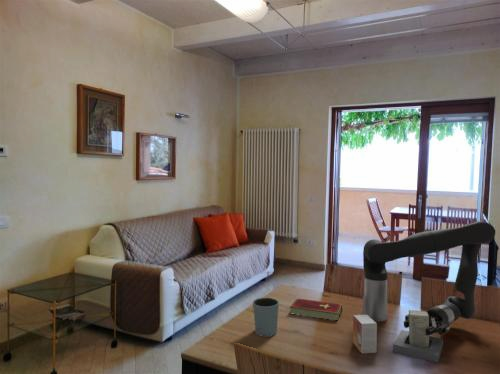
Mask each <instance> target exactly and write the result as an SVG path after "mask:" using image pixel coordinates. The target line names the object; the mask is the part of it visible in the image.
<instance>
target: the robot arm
mask: <svg viewBox="0 0 500 374" xmlns="http://www.w3.org/2000/svg"><path fill="white" fill-rule="evenodd" d="M495 236H496V229H495V227H494V226H493V225H492V224H491V223H489V222H488V221H482V220H479V221H475V222H471V223H468V224H467V225H462V226H459V227H452V228H441V229H434V230H433V229H432V230H426V231H421V232H417V233H414V234H411V235H408V236H406V237H405V238H403V239H400V240H395V241H387V242H386V241H385V242H382V241H380V240H379V239H369V240H368V241H366V243H365V244H364V245H363V252H362V253H363V254H362V255H363V257H362V259H363V272H364V287H363V288H364V294H363V295H362V315H368V316H369V317H370V318H371V319H372V320H373V321H374V322H376V323H377V322H386V321H387V320H388V272H387V271H388V270H387V268H386V263H389V262H393V261H396V260H399V259H403V258H411V257H417V256H424V255H429V254H434V253H438V252H443V251H446V250H451V249H454V248H457V247H460V246H462V247H461V255H460V261H459V265H458V271H457V274H456V278H455V282H454V289H455V291H457V292H458V293H461V294H463V296H464V299H463V298H461V297H457V296H455V295H454V296H453V295H451V296H447V297H446V298H445V300H444V302H443V303H441V304H439V305H436V306H433V307H430V308H429V309H427V310H426V311H425V312H427V313H428V316H429V328H427V329H426V335H427V336H432V335H434V334H435V335H436V334H438V335H439V336H443V335H445V334H447V333H448V332H450V330H451V329H450V325H452V324H451V323H453V322H455V321H457V320H458V319H459V318H463V319H467V320H468V319H471V318H473V317H474V315H475V311H476V308H475V307H476V306H475V290H476V289H475V288H476V286H477V281H478V276H479V275H478V274H479V267H478V258H479V257H478V256H479V251H480V249H481V246H482V245H484V244H488V243H490V242H492V241H493V239H495ZM404 319H405V320H404V321H403V328H406V329H409V313H408V314H406V315H405V316H404Z"/></svg>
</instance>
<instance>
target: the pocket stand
mask: <svg viewBox="0 0 500 374" xmlns="http://www.w3.org/2000/svg"><path fill="white" fill-rule="evenodd" d="M443 346H444V338H440V337H435V336H432V335H429V349H427V348H423V347H418V346H414V345H410V344H409V330H404V329H401V330H400V331H399V332H398V335H397V337H396V339H395V340H394V342H393V343H392V352H395V353H398V354H402V355H406V356H411V357H413V358H414V357H415V358H417V359H418V358H419V359H422V360H426V361H430V362H434V363H439V360H440V356H441V354H442V351H443Z"/></svg>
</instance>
